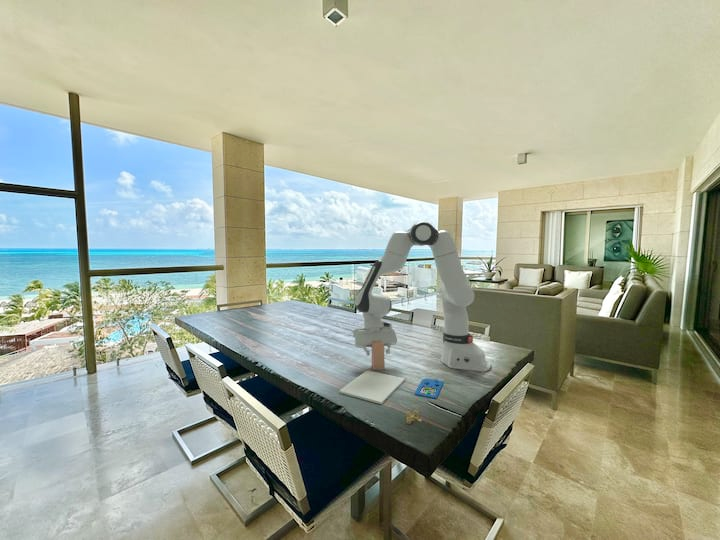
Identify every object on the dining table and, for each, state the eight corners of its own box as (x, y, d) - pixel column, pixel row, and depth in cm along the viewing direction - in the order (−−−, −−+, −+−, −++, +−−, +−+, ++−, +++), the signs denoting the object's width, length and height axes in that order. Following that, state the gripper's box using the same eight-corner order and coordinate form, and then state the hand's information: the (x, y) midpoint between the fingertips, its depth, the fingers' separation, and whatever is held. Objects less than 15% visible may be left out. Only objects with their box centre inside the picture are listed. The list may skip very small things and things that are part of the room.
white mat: (404, 380, 122) (404, 378, 122) (381, 404, 103) (381, 402, 103) (366, 371, 131) (366, 370, 131) (339, 392, 112) (339, 390, 112)
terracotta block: (382, 365, 139) (381, 340, 138) (384, 369, 134) (384, 343, 133) (371, 365, 138) (371, 340, 138) (373, 369, 133) (373, 344, 133)
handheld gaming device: (443, 380, 120) (436, 397, 106) (443, 383, 120) (436, 400, 106) (423, 377, 123) (413, 392, 110) (423, 379, 124) (413, 395, 110)
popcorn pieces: (407, 426, 91) (407, 420, 91) (403, 416, 96) (403, 411, 96) (423, 424, 92) (422, 418, 92) (418, 415, 97) (418, 410, 97)
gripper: (353, 325, 140) (356, 352, 131) (394, 323, 143) (400, 349, 134) (352, 332, 145) (355, 358, 136) (392, 330, 148) (398, 355, 139)
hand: (378, 354), depth 135 cm, fingers open, 8 cm apart
